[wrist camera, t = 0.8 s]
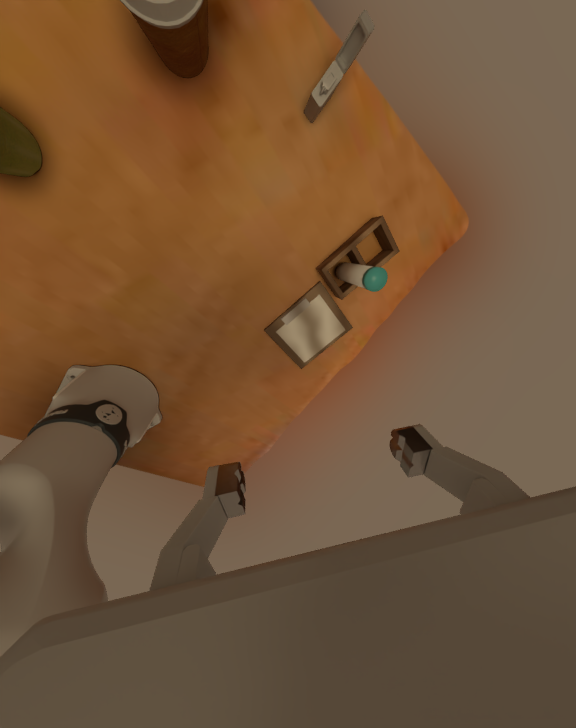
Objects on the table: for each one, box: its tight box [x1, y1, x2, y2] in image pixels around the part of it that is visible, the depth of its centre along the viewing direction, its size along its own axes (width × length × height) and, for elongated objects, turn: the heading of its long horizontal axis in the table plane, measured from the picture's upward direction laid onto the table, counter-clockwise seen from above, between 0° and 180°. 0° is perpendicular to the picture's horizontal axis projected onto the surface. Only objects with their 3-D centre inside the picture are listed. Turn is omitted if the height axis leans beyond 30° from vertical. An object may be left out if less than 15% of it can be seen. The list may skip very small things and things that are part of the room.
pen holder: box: [316, 216, 399, 299], centre depth 40 cm, size 12×7×4 cm, turn 130°
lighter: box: [304, 10, 374, 123], centre depth 28 cm, size 7×2×8 cm, turn 138°
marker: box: [336, 262, 387, 292], centre depth 37 cm, size 3×3×14 cm
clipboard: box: [264, 281, 353, 369], centre depth 46 cm, size 14×12×2 cm
